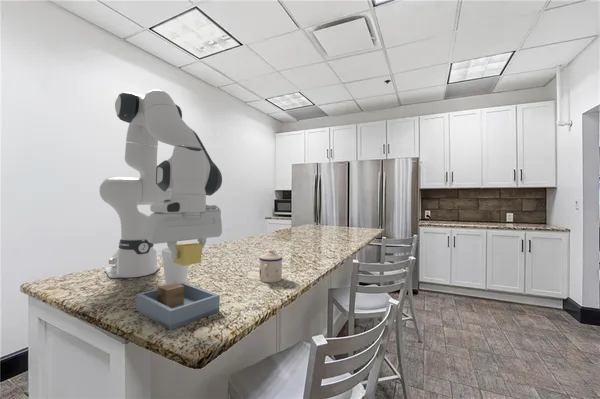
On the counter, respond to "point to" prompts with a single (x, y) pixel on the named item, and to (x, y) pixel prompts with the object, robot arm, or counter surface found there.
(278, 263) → the teacup with lid
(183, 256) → the mustard block
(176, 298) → the walnut block
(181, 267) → the foam cup
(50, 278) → the counter surface
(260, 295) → the counter surface
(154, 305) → the tray
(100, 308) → the counter surface
